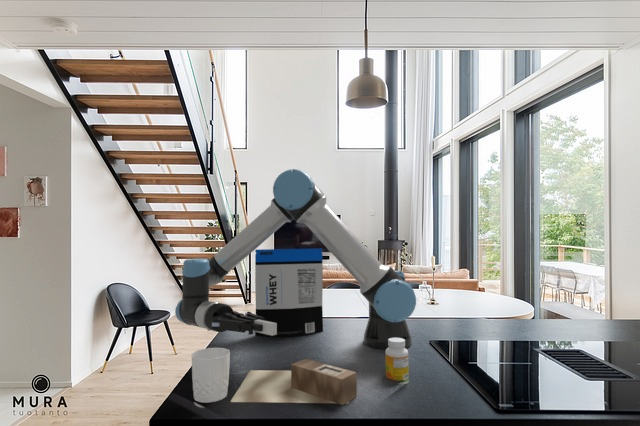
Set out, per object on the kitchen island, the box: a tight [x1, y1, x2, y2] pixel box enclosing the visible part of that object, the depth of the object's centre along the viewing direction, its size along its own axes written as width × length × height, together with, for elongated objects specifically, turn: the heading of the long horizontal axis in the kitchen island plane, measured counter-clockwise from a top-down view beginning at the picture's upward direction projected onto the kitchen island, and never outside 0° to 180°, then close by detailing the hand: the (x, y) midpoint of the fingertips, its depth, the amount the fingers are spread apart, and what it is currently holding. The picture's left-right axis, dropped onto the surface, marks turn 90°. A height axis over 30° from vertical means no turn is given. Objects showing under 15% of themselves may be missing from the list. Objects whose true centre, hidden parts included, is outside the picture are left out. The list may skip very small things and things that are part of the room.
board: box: [230, 369, 350, 404], centre depth 85 cm, size 24×18×1 cm
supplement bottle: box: [384, 338, 410, 386], centre depth 90 cm, size 5×5×10 cm
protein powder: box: [254, 248, 324, 339], centre depth 135 cm, size 10×24×30 cm, turn 103°
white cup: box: [191, 347, 231, 409], centre depth 80 cm, size 8×8×10 cm
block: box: [290, 358, 358, 406], centre depth 81 cm, size 5×5×14 cm
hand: (274, 329), depth 91 cm, fingers closed
